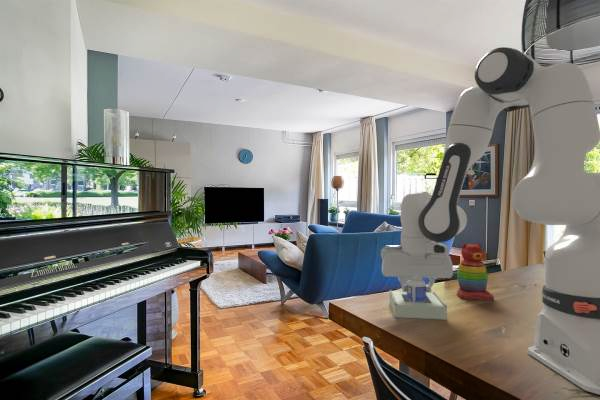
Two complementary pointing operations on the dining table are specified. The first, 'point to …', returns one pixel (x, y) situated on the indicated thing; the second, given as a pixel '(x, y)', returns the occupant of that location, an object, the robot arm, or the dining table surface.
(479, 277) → the stacking bear
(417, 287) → the pill bottle
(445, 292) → the dining table surface
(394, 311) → the holed board
